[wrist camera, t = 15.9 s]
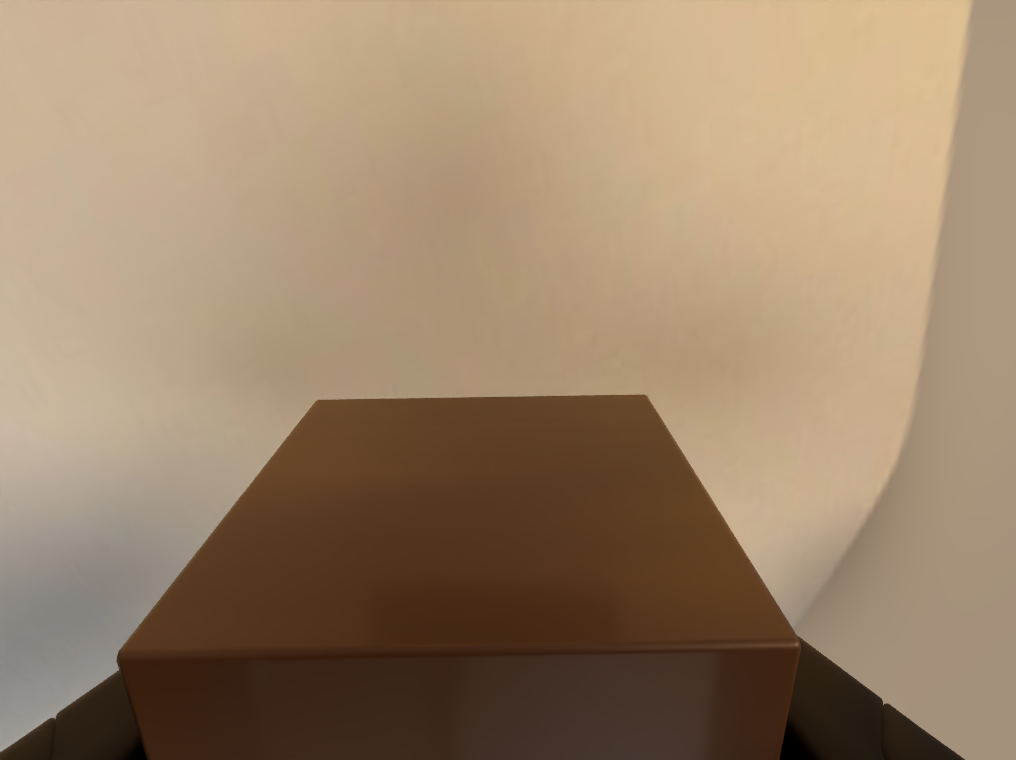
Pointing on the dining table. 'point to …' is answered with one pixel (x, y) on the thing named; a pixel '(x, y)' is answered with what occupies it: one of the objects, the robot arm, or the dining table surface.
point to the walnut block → (467, 598)
